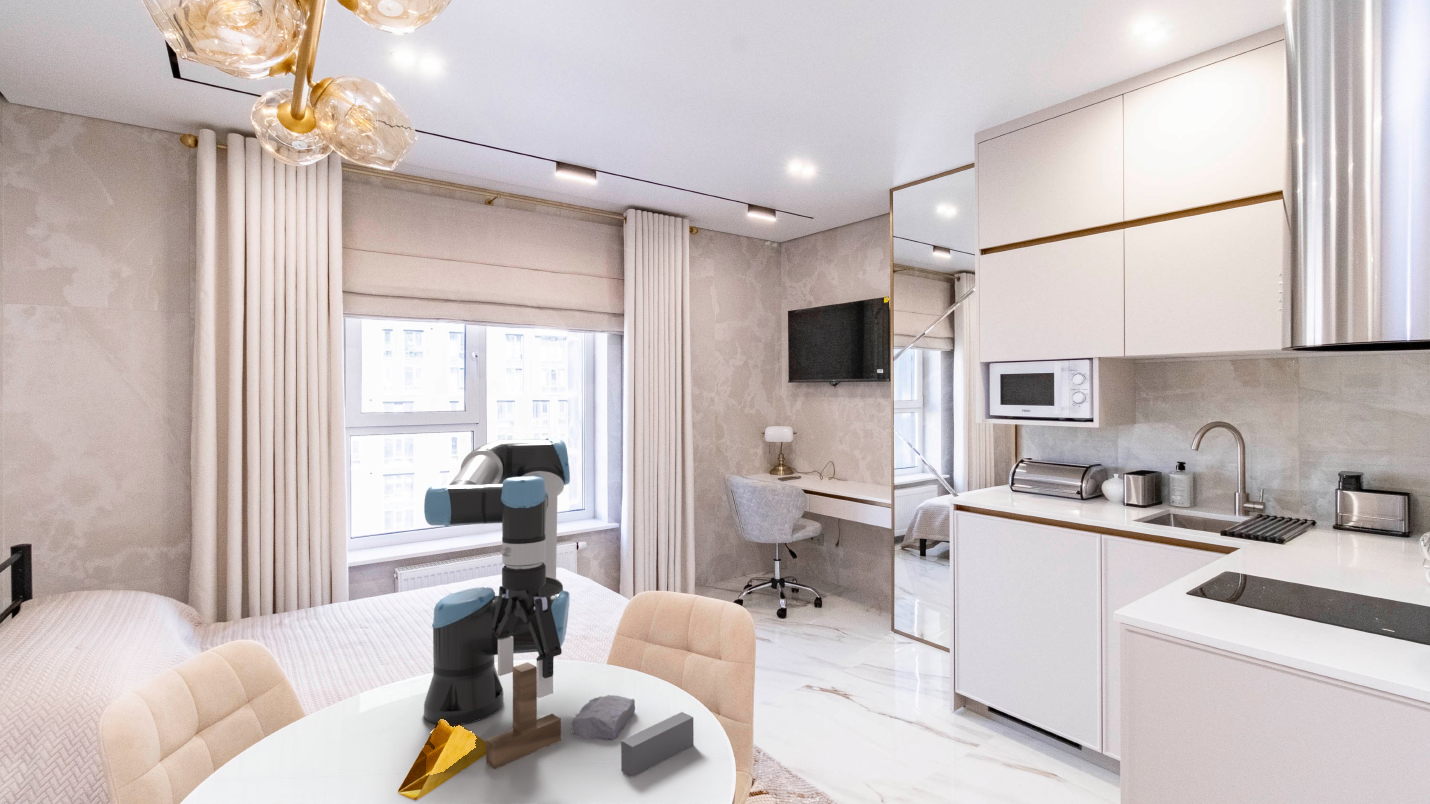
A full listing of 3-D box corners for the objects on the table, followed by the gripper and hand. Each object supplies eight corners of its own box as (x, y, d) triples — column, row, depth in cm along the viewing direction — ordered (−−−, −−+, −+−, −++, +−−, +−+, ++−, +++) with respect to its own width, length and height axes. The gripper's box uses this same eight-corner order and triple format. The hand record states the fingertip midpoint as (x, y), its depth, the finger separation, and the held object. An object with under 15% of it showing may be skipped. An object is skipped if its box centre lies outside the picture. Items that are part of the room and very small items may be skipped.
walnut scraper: (486, 762, 111) (486, 675, 111) (552, 734, 120) (552, 654, 120) (494, 769, 109) (494, 680, 109) (561, 740, 118) (560, 658, 118)
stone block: (568, 747, 119) (618, 741, 117) (564, 721, 120) (614, 714, 118) (594, 719, 131) (639, 713, 129) (589, 695, 131) (635, 689, 129)
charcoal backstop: (621, 770, 108) (621, 740, 108) (682, 739, 118) (682, 711, 118) (632, 777, 106) (632, 746, 106) (693, 744, 116) (693, 717, 116)
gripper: (471, 557, 121) (472, 671, 120) (542, 579, 103) (543, 713, 103) (508, 550, 126) (509, 659, 126) (581, 571, 109) (582, 697, 108)
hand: (524, 684), depth 114 cm, fingers open, 13 cm apart
